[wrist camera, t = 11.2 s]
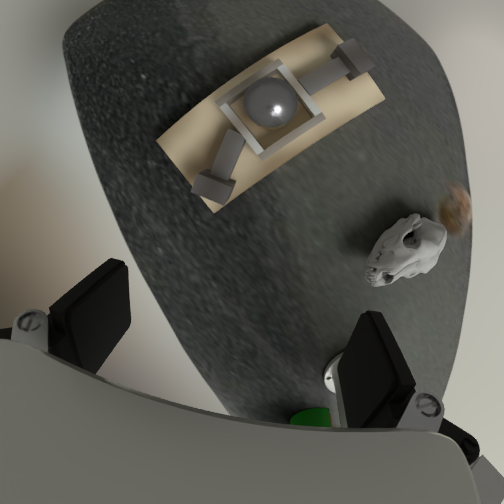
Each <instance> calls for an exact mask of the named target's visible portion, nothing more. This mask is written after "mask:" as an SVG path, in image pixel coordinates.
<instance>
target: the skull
mask: <svg viewBox="0 0 504 504" xmlns="http://www.w3.org/2000/svg"><path fill="white" fill-rule="evenodd" d="M411 231H413V232H414V235H413V236H412V237H410V238H406V240H405V241H403V238H404V236H405V235H406V234H407V233H409V232H411ZM446 234H447V231H446V228H445V227H444V226H443V225H442V224H441V223H436V222H433V221H431V220H429V219H427V218H425V217H423V218H420V215H419V214H416V213H414V214H413V215H412V214H411V215H410V216H409V217H408V218H406V219H405V218H401V219H399V220H398V221H397V222H396V223H395V224H394V225H393V226H392V227H391V228H390V229H387V230H386V231H385V232H383V234H382V235H381V236H380V238H379V239H378V240H377V242H376V244H375V245H374V247H373V249H372V251H371V253H370V255H369V258H368V260H367V263H366V265H365V269H364V277H365V278H366V280H367V281H368V282H369V284H371V285H372V286H373V287H376V286H377V287H379V286H384V285H388V284H391V283H393V282H394V281H396V280H397V279H398V278H399V277H401V276H404V277H406V278H410V277H413V276H415V275H417V274H418V273H420V272H422V273H427V272H428V271H429V270H430V269H431V268H432V267H434V265H435V264H436V263H437V260H438V257H439V254H440V252H441V251H442V250H443V248H444V246H445V242H446V239H447V235H446ZM381 253H382V255H381V256H380V254H381ZM379 256H380V257H379ZM378 257H379V259H380V260H378V261H377V259H378ZM377 262H378V263H377Z"/></svg>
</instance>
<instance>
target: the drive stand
mask: <svg viewBox="0 0 504 504" xmlns="http://www.w3.org/2000/svg"><path fill="white" fill-rule="evenodd" d="M373 67H375V65H374V63H373V62H372V61H371V59H370V58H369V57H368V55H367V54H366V53H365V52H364V50H363V49H362V48H361V46H360V45H359V44H358V43H357V42H356V40H355V39H354V38H351V39H349V40H347V41H345V42H343V41H342V40H341V38H340V37H339V36H338V35H337V34H336V33H335V31H334V30H333V29H332V28H331V27H330V26H329V25H328V24H327V23H326V24H324V25H322V26H320V27H318V28H316V29H314V30H312V31H310V32H308V33H306V34H304V35H302V36H300V37H298V38H297V39H295V40H293V41H291V42H289V43H288V44H286V45H284V46H282V47H281V48H279V49H277V50H275V51H274V52H272V53H270V54H269V55H267V56H266V57H264V58H262V59H261V60H259V61H258V62H256V63H254V64H253V65H251V66H250V67H248V68H247V69H245V70H244V71H242V72H241V73H239V74H238V75H237V76H235V77H234V78H232V79H231V80H229V81H228V82H227V83H225V84H224V85H223V86H221V87H220V88H218V89H217V90H216V91H214V92H213V93H212V94H210V95H209V96H208V97H207V98H205V99H204V100H203V101H201V102H200V103H199V104H198V105H196V106H195V107H194V108H193V109H192V110H190V111H189V112H188V113H187V114H186V115H184V116H183V117H182V118H181V119H180V120H179V121H177V122H176V123H175V124H174V125H173V126H172V127H171V128H169V129H168V130H167V131H166V132H165V133H164V134H163V135H162V136H161V137H159V138H158V139H157V140H156V141H157V142H158V144H159V145H160V146H161V147H162V149H163V150H164V151H165V153H166V154H167V155H168V156H169V158H170V159H171V160H172V161H173V163H174V164H175V165H176V166H177V168H178V169H179V170H180V172H181V173H182V174H183V175H184V177H185V178H186V179H187V180H188V182H189V183H190V184H191V185H192V189H191V192H192V193H194V194H197V195H199V196H200V197H201V198H202V199H203V201H204V202H205V203H206V204H207V206H208V207H209V208H210V209H211V211H212V212H213V213H215V212H217V211H218V210H219V209H221V208H222V207H223V206H225V205H226V204H227V203H229V202H230V201H231V200H233V199H234V198H236V197H237V196H238V195H240V194H241V193H242V192H244V191H245V190H247V189H248V188H249V187H251V186H252V185H254V184H255V183H256V182H258V181H259V180H261V179H262V178H263V177H265V176H266V175H268V174H269V173H271V172H272V171H273V170H275V169H276V168H278V167H279V166H281V165H282V164H284V163H285V162H286V161H288V160H289V159H291V158H292V157H294V156H295V155H297V154H298V153H300V152H301V151H303V150H304V149H306V148H307V147H309V146H310V145H312V144H313V143H315V142H316V141H318V140H320V139H321V138H323V137H324V136H326V135H327V134H329V133H330V132H332V131H334V130H335V129H337V128H338V127H340V126H342V125H343V124H345V123H346V122H348V121H350V120H351V119H353V118H354V117H356V116H358V115H359V114H361V113H363V112H364V111H366V110H368V109H369V108H371V107H373V106H374V105H376V104H378V103H379V102H381V101H383V100H385V97H384V96H383V94H382V93H381V91H380V90H379V88H378V87H377V85H376V84H375V82H374V81H373V80H372V78H371V77H370V75H369V74H368V73H367V71H368V70H370V69H371V68H373ZM266 77H275V78H279V79H282V80H284V81H286V82H287V83H288V84H290V85H291V86H292V88H293V89H294V91H295V92H296V95H297V98H298V107H297V110H296V113H295V115H294V116H293V117H292V119H291V120H290V121H289V122H288V123H287V124H286V125H285V126H284V127H282V128H280V129H277V130H265V129H263V128H261V127H259V126H258V125H256V124H255V123H254V122H253V121H252V120H251V119H250V118H249V116H248V115H247V113H246V111H245V109H244V104H243V100H244V95H245V92H246V90H247V89H248V87H249V86H250V85H251V84H252V83H253V82H255V81H257V80H259V79H261V78H266Z"/></svg>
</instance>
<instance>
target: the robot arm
mask: <svg viewBox="0 0 504 504" xmlns="http://www.w3.org/2000/svg"><path fill="white" fill-rule="evenodd" d="M49 310H50V314H48V315H46V313H45V312H43V311H41V310H38V309H30V310H26V311H23V312H21V313H20V314H19V315H17V317H16V318H15V320H14V323H13V327H11V328H5V329H0V504H501V502H502V501H503V499H504V477H503V476H502V475H501V474H500V473H499V472H498V471H497V470H496V469H495V468H494V466H492V464H491V463H490V462H489V461H488V460H487V459H486V458H485V457H484V456H483V455H482V456H480V457H479V452H480V449H479V444H478V442H477V440H476V439H475V438H474V437H473V436H472V435H470V434H469V433H467V432H465V431H464V430H462V429H461V428H459V427H457V426H456V425H454V424H453V423H451V422H449V421H448V420H446V419H445V418H443V415H444V410H445V409H444V405H443V403H442V401H441V399H440V398H439V397H438V396H437V395H435V394H434V393H432V392H430V391H427V390H419V391H417V392H416V391H415V389H414V387H415V385H416V383H415V380H414V378H413V376H412V374H411V371H410V369H409V367H408V365H407V363H406V361H405V359H404V356H403V354H402V352H401V350H400V348H399V346H398V344H397V342H396V340H395V338H394V336H393V334H392V332H391V330H390V328H389V326H388V324H387V322H386V320H385V319H384V317H383V315H382V313H381V312H376V311H369V310H368V311H366V312H365V313H362V314H361V316H360V318H359V320H358V322H357V324H356V327H355V329H354V331H353V333H352V335H351V338H350V340H349V342H348V344H347V346H346V348H345V350H344V352H342V353H340V354H339V355H337V356H336V357H335V358H334V359H332V360H331V362H330V363H329V364H328V365H327V367H326V369H325V371H324V383H325V385H326V387H327V388H328V389H329V390H330V391H332V392H334V393H336V399H337V405H338V411H339V417H340V423H341V428H331V427H312V426H299V425H289V424H280V423H272V422H265V421H258V420H251V419H245V418H240V417H234V416H229V415H224V414H219V413H214V412H210V411H205V410H201V409H197V408H193V407H189V406H186V405H182V404H178V403H175V402H171V401H168V400H165V399H161V398H158V397H155V396H151V395H149V394H146V393H142V392H140V391H137V390H134V389H131V388H128V387H126V386H123V385H120V384H118V383H115V382H113V381H110V380H108V379H105V378H103V377H100V376H98V375H96V373H97V371H98V370H99V369H100V367H101V366H102V364H103V363H104V361H105V360H106V359H107V357H108V356H109V354H110V353H111V352H112V350H113V349H114V347H115V346H116V345H117V343H118V342H119V341H120V339H121V338H122V336H123V335H124V334H125V332H126V331H127V330H128V328H129V326H130V324H131V312H130V299H129V280H128V267H127V266H126V265H125V263H124V261H121V260H117V259H113V258H110V259H108V260H107V261H106V262H104V263H103V264H102V265H101V266H99V267H98V268H97V269H95V270H94V271H93V272H91V273H90V274H89V275H88V276H86V277H85V278H84V279H83V280H81V281H80V282H79V283H78V284H77V285H75V286H74V287H73V288H72V289H70V290H69V291H68V292H67V293H66V294H64V295H63V296H62V297H61V298H60V299H59V300H57V301H56V302H55V303H54V304H53V305H52V306H50V307H49Z"/></svg>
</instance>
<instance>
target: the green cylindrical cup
mask: <svg viewBox="0 0 504 504" xmlns="http://www.w3.org/2000/svg"><path fill="white" fill-rule="evenodd" d="M290 425H299V426H312V427H331V428H332V419H331V415H330V413H329V409H328V408H312V409H307V410H304V411H301V412H299V413H297V414H295V415H294V416H293V417H292V418H291V420H290Z"/></svg>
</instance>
